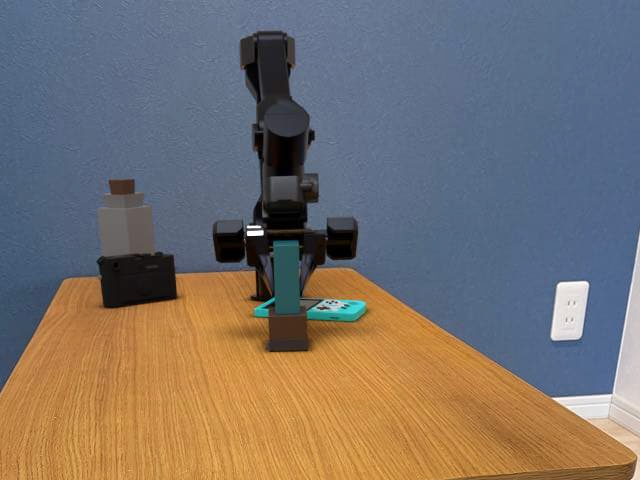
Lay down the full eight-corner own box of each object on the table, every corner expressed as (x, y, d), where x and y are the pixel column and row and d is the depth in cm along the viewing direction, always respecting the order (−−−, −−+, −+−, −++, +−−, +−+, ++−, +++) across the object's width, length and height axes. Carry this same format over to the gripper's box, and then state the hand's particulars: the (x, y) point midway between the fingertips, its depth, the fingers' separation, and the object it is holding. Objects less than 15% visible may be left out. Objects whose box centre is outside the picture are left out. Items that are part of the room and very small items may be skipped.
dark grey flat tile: (265, 349, 112) (265, 349, 112) (267, 342, 115) (267, 342, 115) (296, 349, 112) (296, 348, 112) (296, 342, 115) (296, 342, 115)
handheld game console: (354, 321, 126) (354, 312, 125) (252, 316, 130) (252, 307, 130) (370, 308, 134) (370, 299, 133) (274, 303, 139) (274, 295, 138)
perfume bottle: (158, 283, 158) (148, 178, 150) (133, 289, 153) (122, 181, 145) (130, 280, 162) (120, 178, 154) (105, 286, 157) (93, 180, 149)
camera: (165, 292, 150) (161, 244, 146) (184, 298, 145) (180, 249, 141) (88, 303, 143) (82, 253, 139) (105, 309, 138) (99, 258, 134)
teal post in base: (269, 340, 116) (266, 239, 110) (306, 339, 116) (305, 238, 110) (269, 351, 111) (265, 246, 105) (307, 350, 111) (306, 245, 105)
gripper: (208, 151, 106) (208, 257, 101) (358, 148, 106) (364, 253, 102) (216, 212, 117) (216, 310, 112) (352, 208, 117) (358, 307, 112)
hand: (287, 295), depth 109 cm, fingers closed on teal post in base, 3 cm apart
